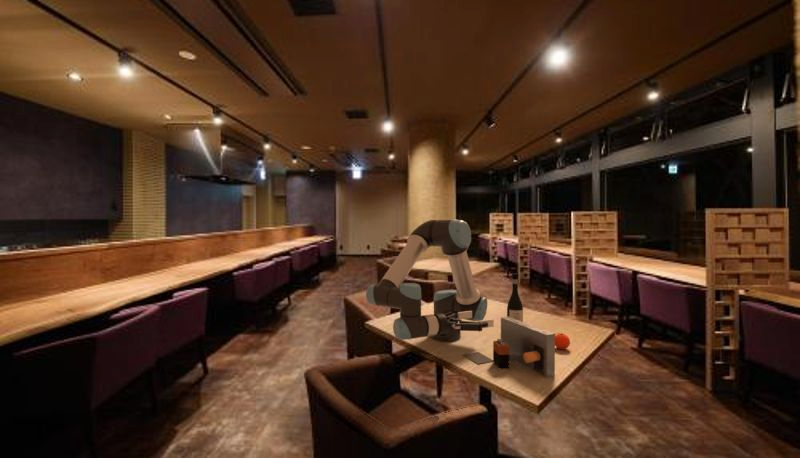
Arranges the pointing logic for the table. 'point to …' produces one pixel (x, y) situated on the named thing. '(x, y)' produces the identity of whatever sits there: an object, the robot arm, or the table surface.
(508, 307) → the wine bottle
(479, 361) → the mat
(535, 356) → the orange rounded cylinder
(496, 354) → the battery
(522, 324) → the panel
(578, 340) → the table surface
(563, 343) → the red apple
